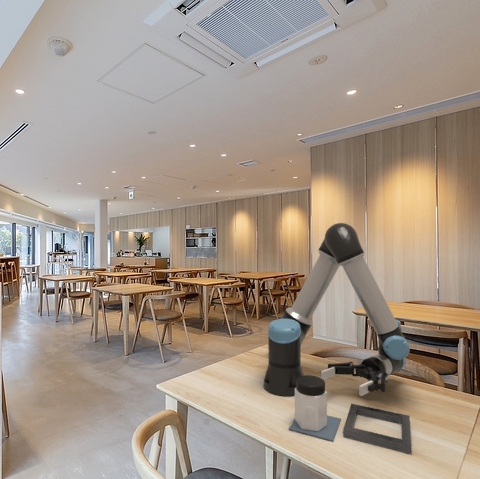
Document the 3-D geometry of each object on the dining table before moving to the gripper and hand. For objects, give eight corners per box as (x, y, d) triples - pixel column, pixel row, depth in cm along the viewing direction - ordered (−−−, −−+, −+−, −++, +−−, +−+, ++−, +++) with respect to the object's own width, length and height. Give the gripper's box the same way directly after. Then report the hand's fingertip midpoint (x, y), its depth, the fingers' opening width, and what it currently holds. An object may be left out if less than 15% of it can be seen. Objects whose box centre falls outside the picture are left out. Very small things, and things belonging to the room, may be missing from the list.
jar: (293, 428, 88) (292, 384, 88) (296, 414, 96) (296, 373, 96) (326, 433, 85) (326, 388, 86) (327, 418, 93) (327, 377, 93)
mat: (288, 430, 88) (288, 428, 88) (300, 410, 98) (300, 409, 98) (333, 441, 82) (333, 440, 82) (340, 419, 93) (340, 418, 93)
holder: (343, 436, 84) (343, 429, 85) (351, 410, 99) (351, 403, 99) (411, 454, 77) (411, 445, 77) (409, 422, 92) (409, 415, 92)
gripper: (413, 391, 101) (379, 412, 88) (344, 367, 121) (308, 381, 108) (413, 367, 101) (379, 384, 88) (344, 348, 121) (308, 359, 108)
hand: (340, 383), depth 98 cm, fingers open, 13 cm apart
